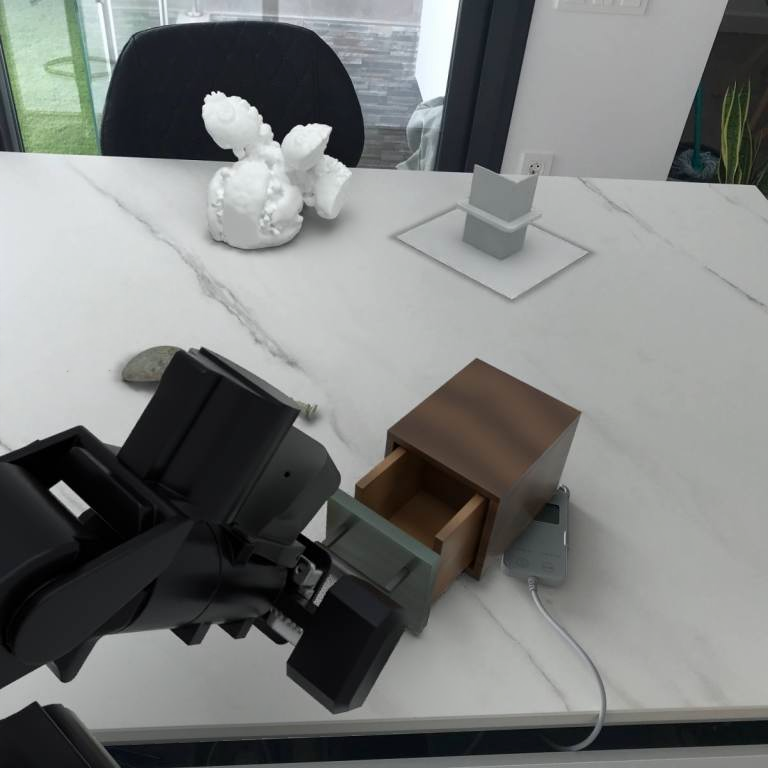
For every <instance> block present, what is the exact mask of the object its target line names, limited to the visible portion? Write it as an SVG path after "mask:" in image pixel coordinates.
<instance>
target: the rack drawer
mask: <svg viewBox="0 0 768 768" xmlns="http://www.w3.org/2000/svg"><path fill="white" fill-rule="evenodd" d="M489 504H490V499H488V498H487V497H485V496H483V495H482V494H480V493H478V492H477V491H475V490H473V489H472V488H470V487H468V486H467V485H465V484H464V483H462V482H460V481H459V480H457V479H455V478H454V477H452V476H450V475H449V474H447V473H445V472H444V471H442V470H440V469H439V468H437V467H436V466H434V465H432V464H431V463H429V462H427V461H426V460H424V459H422V458H421V457H419V456H417V455H416V454H414V453H412V452H411V451H409V450H407V449H406V448H404V447H403V446H401V445H400V446H399V447H398V448H397V449H396V450H395V451H393V452H392V453H391V454H390V455H389V456H387V457H386V458H385V459H384V458H383V460H381V461H380V462H379V463H378V464H377V465H375V466H374V467H373V468H372V469H371V470H369V471H368V472H367V473H366V474H365V475H364V476H363V477H361V478H360V479H359V480H358V481H357V482H356V483H354V494H353V496H352V495H350V494H348V493H347V492H346V491H344V490H343V489H341V488H340V487H339V488H338V489H337V491H336V492H335V493H334V494H333V495H332V496H330V497H329V498H328V500H327V501H326V519H325V538H324V539H323V540H322V541H321V542H320V540H315V541H313V542H314V543H315V544H317V545H318V546H320V547H321V548H322V549H324V550H325V551H327V552H328V553H329V554H330V556H331V558H332V570H331V573H330V575H329V576H330V577H332V578H333V579H334V580H336V581H337V580H339V579H340V578H341V577H342V576H343V575H344V574H352V575H354V576H356V577H359V578H361V579H363V580H365V581H367V582H369V583H370V584H372V585H373V586H375V587H376V588H377V589H379V590H380V591H382V592H383V593H384V594H386V595H387V596H388V597H390V598H391V599H393V600H394V601H395V602H397V603H398V604H400V605H401V606H402V607H404V608H405V609H406V613H407V618H408V623H409V624H408V626H407V628H409V630H411V631H413V633H415V634H416V635H418V636H419V635H420V634H421V633H422V631H424V629H425V628H426V627H427V626H428V623H429V618H430V612H431V607H432V606H433V605H434V603H435V602H437V600H438V599H439V598H440V597H441V596H442V595H443V594H444V592H445V591H446V590H447V589H448V588H449V587H450V586H451V585H452V584H453V582H455V580H456V579H457V578H458V577H459V576H460V575H461V573H463V572H464V571H463V570H464V569H465V568H466V567H467V566H468V565H469V564H470V562H471V561H472V560H473V559H474V558H475V557H476V556H477V552H478V548H479V544H480V540H481V536H482V532H483V528H484V524H485V520H486V516H487V512H488V508H489Z"/></svg>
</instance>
